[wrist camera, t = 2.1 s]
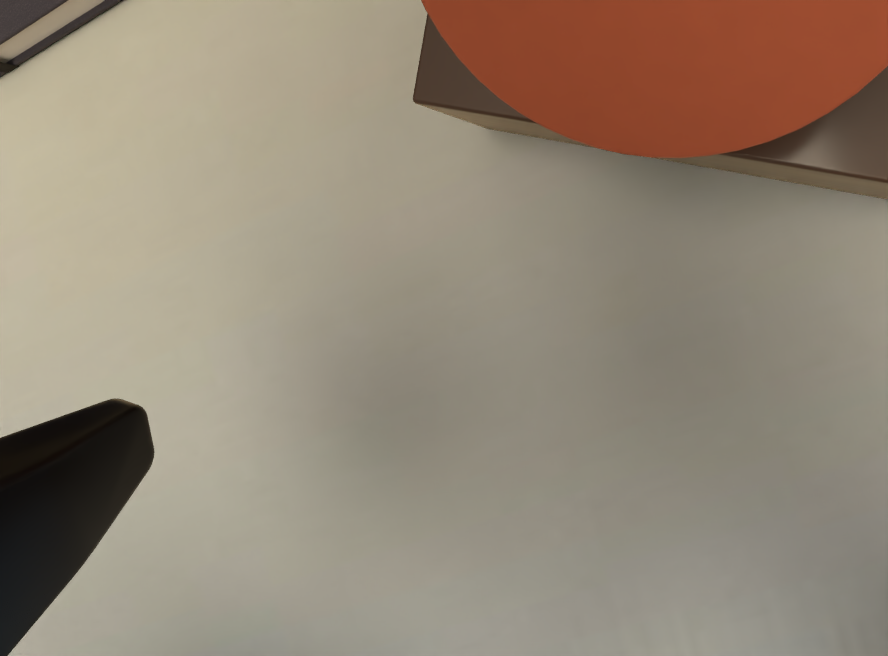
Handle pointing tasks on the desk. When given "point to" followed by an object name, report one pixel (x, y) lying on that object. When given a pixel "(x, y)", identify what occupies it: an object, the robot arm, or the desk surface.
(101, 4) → the notebook
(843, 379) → the desk surface
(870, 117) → the block
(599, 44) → the container
